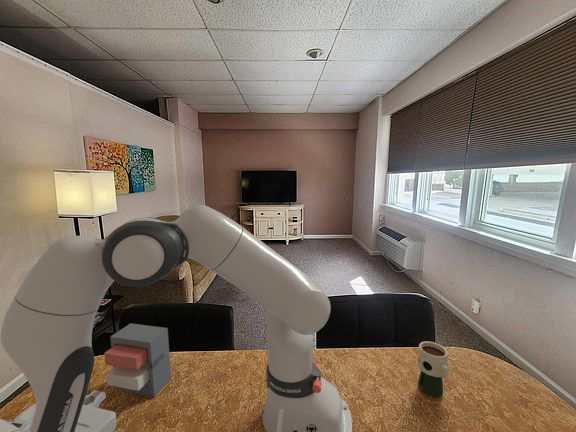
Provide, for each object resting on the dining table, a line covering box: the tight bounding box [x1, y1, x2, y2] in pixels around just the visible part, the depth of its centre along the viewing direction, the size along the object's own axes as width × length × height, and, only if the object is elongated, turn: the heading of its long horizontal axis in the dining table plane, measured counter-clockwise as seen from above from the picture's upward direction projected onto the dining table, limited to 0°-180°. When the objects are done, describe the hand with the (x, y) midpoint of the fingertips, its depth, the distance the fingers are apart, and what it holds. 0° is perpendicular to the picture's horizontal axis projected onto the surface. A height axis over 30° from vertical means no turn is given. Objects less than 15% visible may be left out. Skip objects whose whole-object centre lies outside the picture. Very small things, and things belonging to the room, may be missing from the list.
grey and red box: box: [110, 323, 172, 398], centre depth 74 cm, size 7×13×16 cm, turn 78°
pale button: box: [105, 366, 150, 391], centre depth 69 cm, size 4×10×3 cm, turn 78°
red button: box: [103, 344, 148, 370], centre depth 68 cm, size 4×10×3 cm, turn 78°
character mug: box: [417, 341, 449, 398], centre depth 71 cm, size 11×7×13 cm, turn 8°
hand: (100, 393), depth 61 cm, fingers closed
